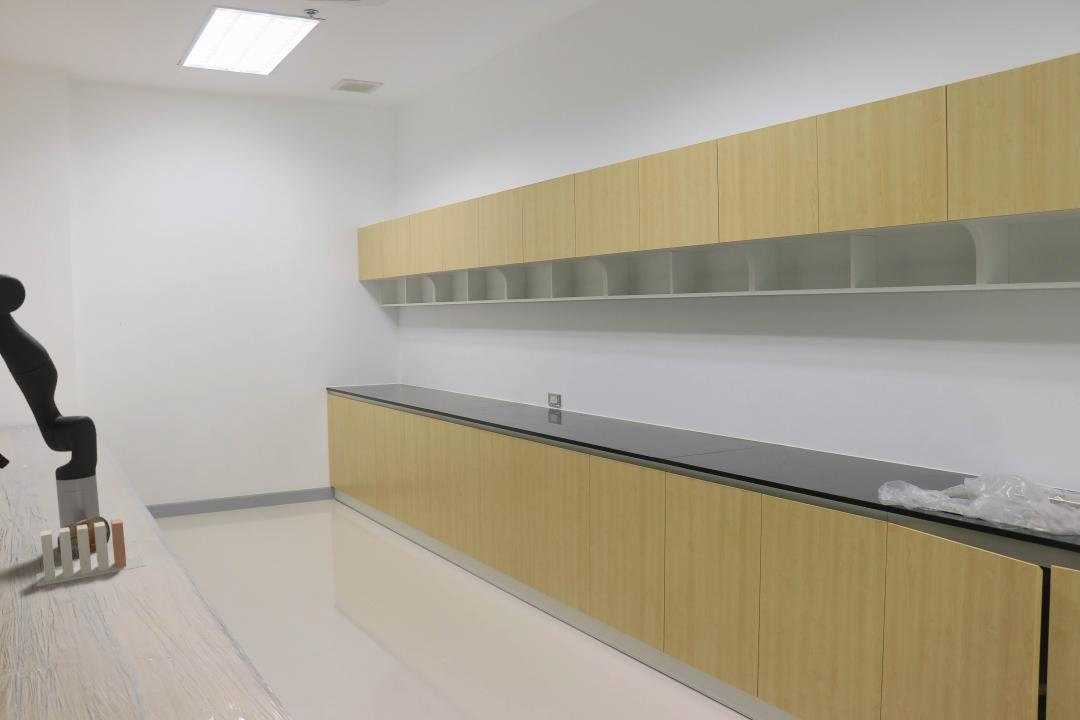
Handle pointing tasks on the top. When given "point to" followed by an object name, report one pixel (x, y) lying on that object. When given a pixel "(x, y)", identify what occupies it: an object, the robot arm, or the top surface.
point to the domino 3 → (84, 549)
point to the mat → (130, 563)
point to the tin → (91, 534)
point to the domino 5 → (118, 542)
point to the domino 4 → (101, 546)
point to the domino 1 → (48, 555)
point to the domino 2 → (66, 552)
